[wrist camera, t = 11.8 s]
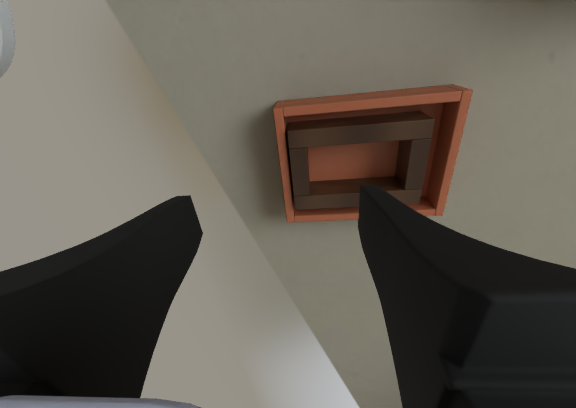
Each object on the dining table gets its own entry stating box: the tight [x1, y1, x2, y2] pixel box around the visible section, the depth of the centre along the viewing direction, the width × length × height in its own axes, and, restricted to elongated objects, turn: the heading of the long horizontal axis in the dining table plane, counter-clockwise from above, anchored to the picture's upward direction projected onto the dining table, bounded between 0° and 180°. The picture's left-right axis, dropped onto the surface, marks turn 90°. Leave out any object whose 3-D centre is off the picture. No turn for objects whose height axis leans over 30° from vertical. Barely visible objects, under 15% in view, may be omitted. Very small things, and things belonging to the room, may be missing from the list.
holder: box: [273, 84, 473, 222], centre depth 19 cm, size 12×9×2 cm
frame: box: [287, 111, 435, 210], centre depth 19 cm, size 9×6×2 cm, turn 96°
